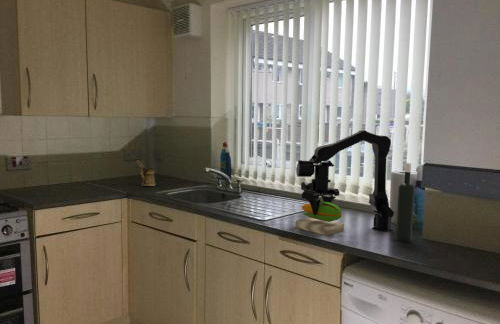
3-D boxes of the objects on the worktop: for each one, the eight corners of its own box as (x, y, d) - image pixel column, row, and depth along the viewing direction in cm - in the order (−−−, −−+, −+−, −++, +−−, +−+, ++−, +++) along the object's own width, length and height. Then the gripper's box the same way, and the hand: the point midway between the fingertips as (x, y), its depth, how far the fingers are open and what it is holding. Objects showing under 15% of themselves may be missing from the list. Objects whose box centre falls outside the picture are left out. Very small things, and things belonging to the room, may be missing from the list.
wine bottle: (412, 242, 167) (417, 164, 164) (396, 241, 168) (401, 163, 165) (409, 238, 172) (414, 162, 170) (394, 237, 173) (399, 162, 171)
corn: (336, 205, 173) (296, 198, 187) (334, 224, 174) (295, 215, 188) (346, 204, 179) (307, 197, 193) (344, 222, 179) (305, 214, 193)
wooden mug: (132, 186, 282) (133, 158, 280) (149, 184, 292) (150, 157, 291) (141, 188, 276) (141, 159, 275) (158, 186, 287) (158, 158, 285)
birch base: (343, 230, 182) (344, 223, 182) (326, 235, 174) (326, 228, 174) (313, 223, 194) (313, 216, 193) (295, 227, 185) (295, 220, 185)
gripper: (319, 173, 194) (318, 208, 195) (292, 176, 181) (290, 213, 182) (340, 176, 186) (339, 212, 187) (313, 179, 173) (312, 218, 174)
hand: (320, 214), depth 183 cm, fingers closed on corn, 7 cm apart
